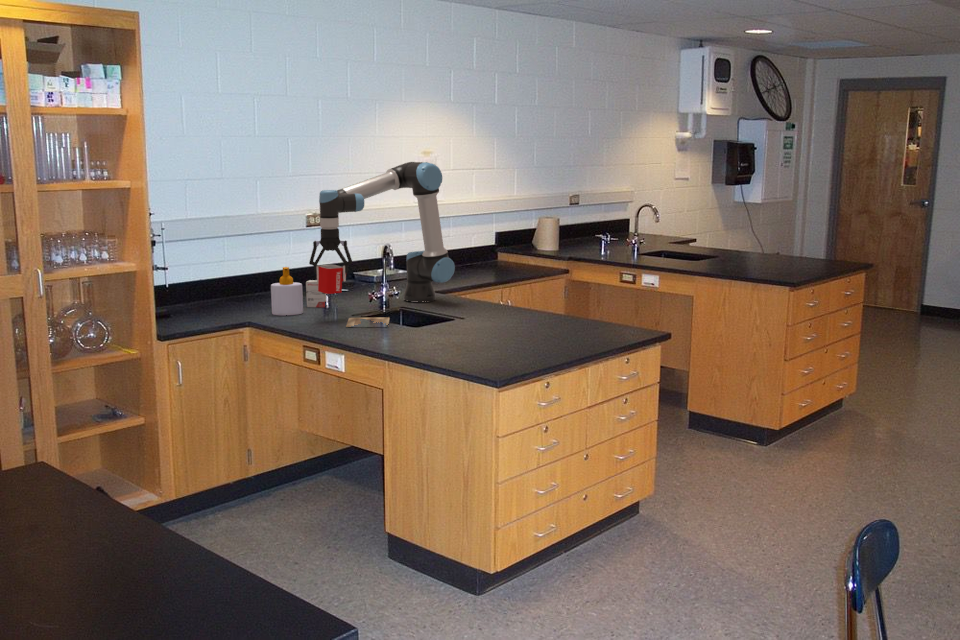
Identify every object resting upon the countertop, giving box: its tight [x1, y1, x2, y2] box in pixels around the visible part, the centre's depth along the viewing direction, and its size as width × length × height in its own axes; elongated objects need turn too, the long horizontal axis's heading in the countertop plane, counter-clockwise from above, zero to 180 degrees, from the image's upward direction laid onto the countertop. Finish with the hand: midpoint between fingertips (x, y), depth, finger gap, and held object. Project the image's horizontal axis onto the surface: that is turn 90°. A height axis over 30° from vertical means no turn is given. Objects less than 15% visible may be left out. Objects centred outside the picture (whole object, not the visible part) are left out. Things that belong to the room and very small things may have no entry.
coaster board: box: [345, 316, 391, 328], centre depth 387 cm, size 17×17×1 cm
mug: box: [318, 264, 344, 295], centre depth 389 cm, size 12×8×11 cm
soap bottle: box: [270, 266, 304, 317], centre depth 403 cm, size 13×8×20 cm, turn 102°
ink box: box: [305, 279, 326, 308], centre depth 421 cm, size 9×5×12 cm, turn 84°
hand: (331, 281), depth 389 cm, fingers closed on mug, 10 cm apart
